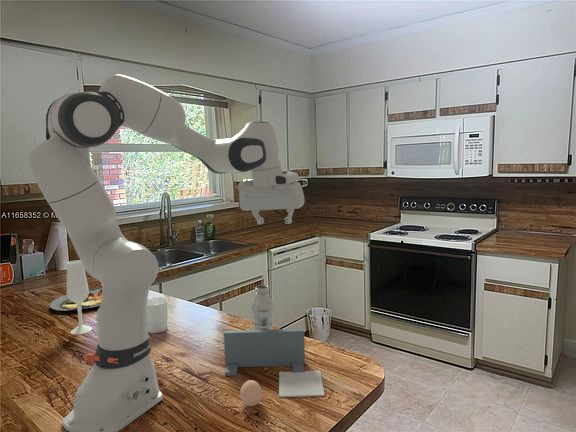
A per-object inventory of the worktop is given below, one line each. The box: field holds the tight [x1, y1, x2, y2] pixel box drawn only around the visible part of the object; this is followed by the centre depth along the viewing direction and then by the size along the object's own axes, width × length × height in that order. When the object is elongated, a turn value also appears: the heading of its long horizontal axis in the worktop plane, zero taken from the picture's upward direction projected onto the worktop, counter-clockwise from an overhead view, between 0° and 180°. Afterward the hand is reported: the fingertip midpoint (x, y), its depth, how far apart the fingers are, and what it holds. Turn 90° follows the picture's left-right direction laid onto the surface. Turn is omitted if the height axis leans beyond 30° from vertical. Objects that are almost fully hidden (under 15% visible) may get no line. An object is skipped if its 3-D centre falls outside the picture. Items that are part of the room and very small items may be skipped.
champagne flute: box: [66, 259, 93, 335], centre depth 137 cm, size 7×7×24 cm
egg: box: [239, 379, 263, 407], centre depth 94 cm, size 5×5×6 cm
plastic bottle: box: [250, 284, 274, 330], centre depth 119 cm, size 6×7×20 cm
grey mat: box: [278, 370, 326, 398], centre depth 103 cm, size 11×11×1 cm
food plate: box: [49, 288, 102, 311], centre depth 166 cm, size 25×23×4 cm
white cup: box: [146, 296, 169, 334], centre depth 138 cm, size 8×8×10 cm
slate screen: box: [223, 328, 306, 377], centre depth 110 cm, size 6×22×10 cm, turn 91°
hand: (274, 223), depth 121 cm, fingers open, 8 cm apart
